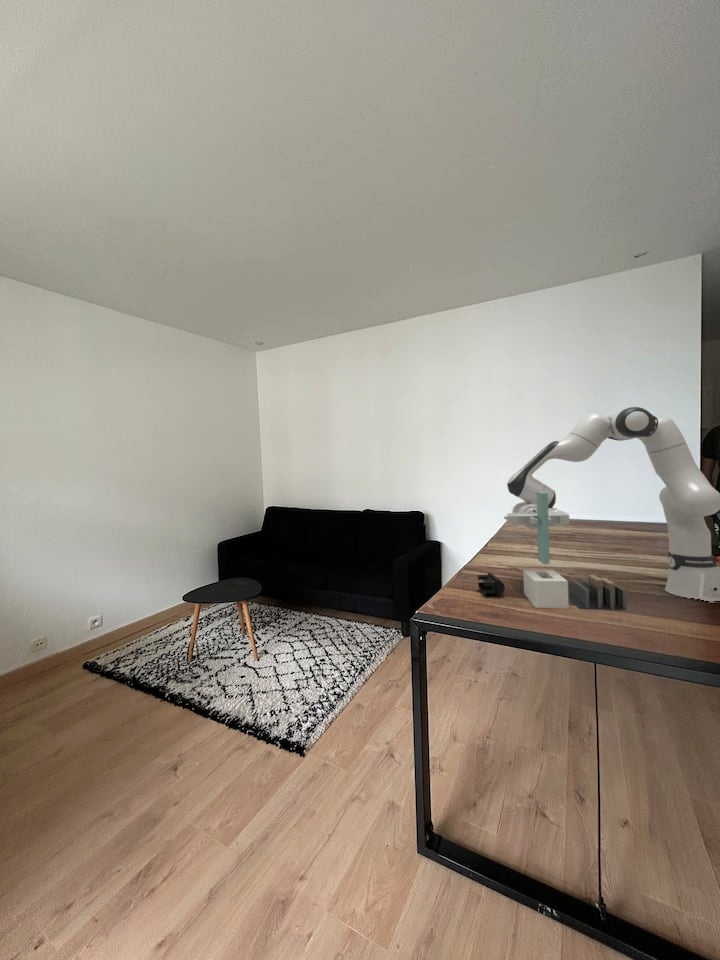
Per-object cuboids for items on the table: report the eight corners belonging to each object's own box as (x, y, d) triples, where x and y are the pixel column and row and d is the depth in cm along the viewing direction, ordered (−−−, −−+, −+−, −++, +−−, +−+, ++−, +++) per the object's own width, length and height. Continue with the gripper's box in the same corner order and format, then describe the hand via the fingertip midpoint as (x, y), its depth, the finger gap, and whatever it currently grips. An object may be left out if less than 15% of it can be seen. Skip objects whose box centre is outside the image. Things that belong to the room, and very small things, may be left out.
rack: (611, 597, 128) (610, 577, 128) (635, 614, 114) (634, 591, 113) (562, 596, 131) (561, 576, 131) (579, 612, 116) (578, 590, 116)
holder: (553, 597, 131) (552, 569, 131) (568, 611, 117) (567, 581, 117) (524, 596, 133) (523, 569, 133) (535, 611, 119) (534, 580, 119)
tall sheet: (543, 560, 128) (542, 491, 127) (549, 564, 122) (547, 493, 121) (538, 560, 128) (536, 492, 128) (543, 564, 122) (542, 493, 122)
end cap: (505, 598, 133) (504, 579, 133) (485, 598, 133) (485, 580, 133) (496, 589, 143) (495, 572, 143) (478, 589, 143) (477, 572, 143)
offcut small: (606, 598, 124) (605, 578, 124) (615, 604, 119) (614, 583, 118) (600, 598, 125) (599, 578, 125) (609, 604, 119) (608, 583, 119)
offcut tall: (594, 598, 125) (594, 575, 125) (603, 604, 119) (602, 580, 119) (589, 598, 125) (588, 575, 125) (597, 604, 120) (596, 580, 119)
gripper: (502, 508, 139) (511, 513, 126) (560, 507, 136) (575, 512, 122) (503, 525, 139) (511, 531, 126) (560, 524, 136) (576, 530, 122)
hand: (543, 521), depth 124 cm, fingers closed on tall sheet, 2 cm apart
